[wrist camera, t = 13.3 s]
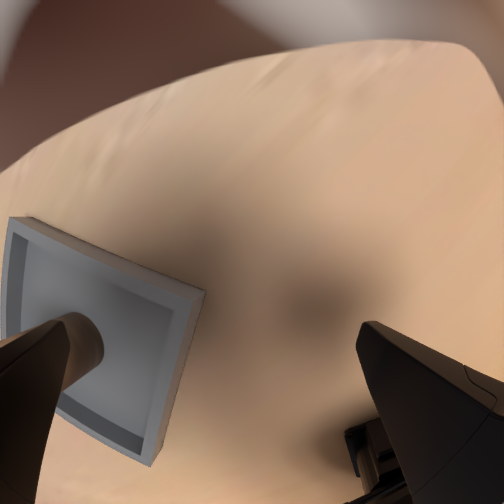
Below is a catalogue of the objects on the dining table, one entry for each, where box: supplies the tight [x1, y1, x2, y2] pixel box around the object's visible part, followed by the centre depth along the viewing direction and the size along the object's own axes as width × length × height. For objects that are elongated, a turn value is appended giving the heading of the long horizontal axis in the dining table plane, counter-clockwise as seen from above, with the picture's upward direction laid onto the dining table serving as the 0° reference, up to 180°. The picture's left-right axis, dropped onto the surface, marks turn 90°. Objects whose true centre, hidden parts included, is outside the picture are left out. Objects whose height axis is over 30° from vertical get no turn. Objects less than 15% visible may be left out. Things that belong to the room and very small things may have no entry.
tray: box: [0, 217, 206, 467], centre depth 20 cm, size 18×16×3 cm
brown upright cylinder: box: [0, 312, 104, 392], centre depth 16 cm, size 5×5×11 cm
